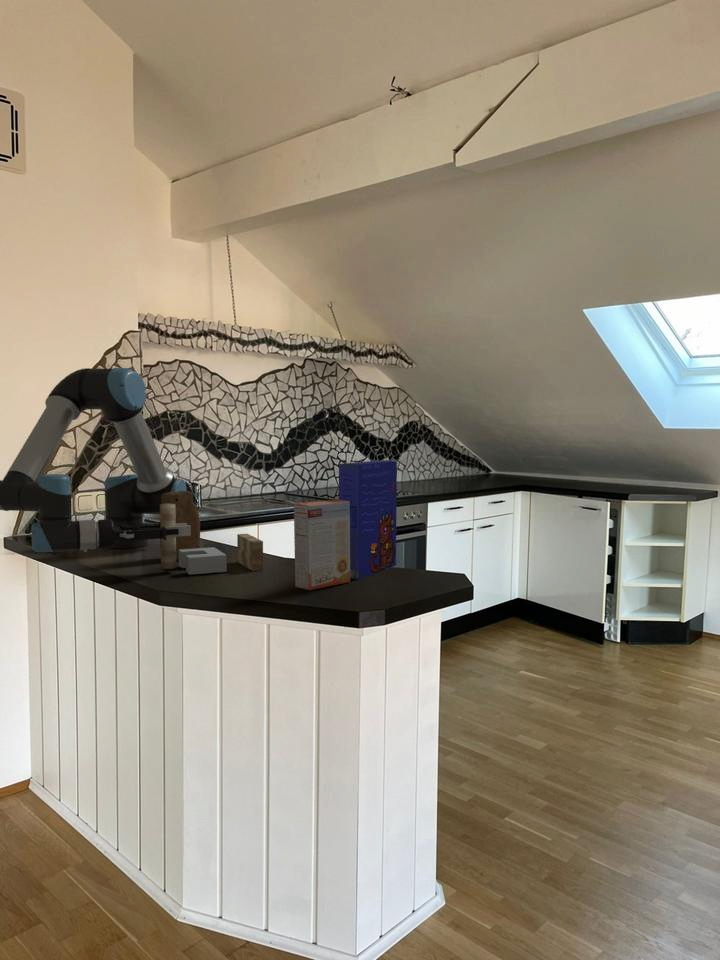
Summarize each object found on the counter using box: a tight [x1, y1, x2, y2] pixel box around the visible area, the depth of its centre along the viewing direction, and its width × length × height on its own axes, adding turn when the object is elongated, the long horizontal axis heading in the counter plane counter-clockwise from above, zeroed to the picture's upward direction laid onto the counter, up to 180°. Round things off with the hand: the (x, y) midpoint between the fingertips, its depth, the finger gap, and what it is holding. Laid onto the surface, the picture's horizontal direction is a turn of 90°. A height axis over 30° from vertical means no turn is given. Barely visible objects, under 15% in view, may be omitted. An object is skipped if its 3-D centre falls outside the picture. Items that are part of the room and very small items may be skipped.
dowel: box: [159, 504, 177, 570], centre depth 197 cm, size 4×4×17 cm
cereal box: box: [338, 459, 398, 580], centre depth 200 cm, size 22×6×30 cm, turn 151°
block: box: [159, 490, 201, 562], centre depth 218 cm, size 11×8×20 cm
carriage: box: [178, 547, 228, 576], centre depth 202 cm, size 14×10×4 cm
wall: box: [236, 533, 264, 572], centre depth 208 cm, size 15×3×8 cm, turn 25°
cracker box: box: [293, 499, 351, 591], centre depth 183 cm, size 14×6×21 cm, turn 134°
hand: (188, 529), depth 199 cm, fingers closed on dowel, 4 cm apart
